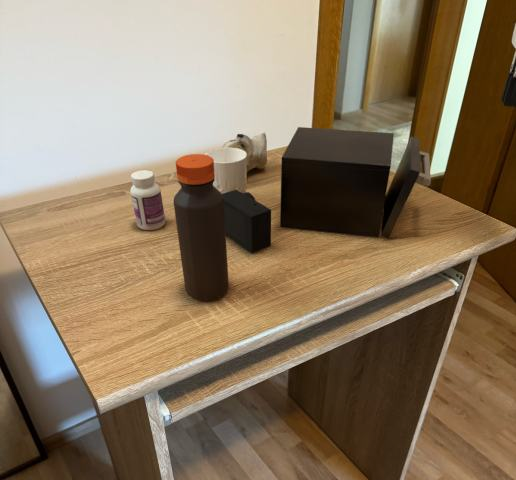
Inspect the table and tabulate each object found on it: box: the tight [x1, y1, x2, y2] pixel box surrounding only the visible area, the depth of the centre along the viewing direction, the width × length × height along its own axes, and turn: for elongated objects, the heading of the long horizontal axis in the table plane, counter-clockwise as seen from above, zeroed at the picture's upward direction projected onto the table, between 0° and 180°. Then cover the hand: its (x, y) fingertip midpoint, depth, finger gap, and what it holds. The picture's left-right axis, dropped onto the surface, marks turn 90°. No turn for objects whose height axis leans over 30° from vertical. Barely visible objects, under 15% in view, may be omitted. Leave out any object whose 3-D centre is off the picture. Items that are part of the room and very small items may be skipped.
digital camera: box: [222, 190, 272, 254], centre depth 85 cm, size 10×5×7 cm, turn 37°
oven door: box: [380, 136, 432, 240], centre depth 88 cm, size 4×16×13 cm, turn 167°
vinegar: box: [173, 153, 230, 302], centre depth 69 cm, size 7×7×20 cm
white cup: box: [204, 147, 248, 194], centre depth 94 cm, size 8×8×10 cm
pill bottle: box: [130, 169, 166, 231], centre depth 89 cm, size 5×5×10 cm
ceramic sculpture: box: [221, 132, 268, 172], centre depth 107 cm, size 11×9×15 cm
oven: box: [279, 126, 395, 238], centre depth 90 cm, size 18×16×13 cm
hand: (512, 103), depth 76 cm, fingers closed
